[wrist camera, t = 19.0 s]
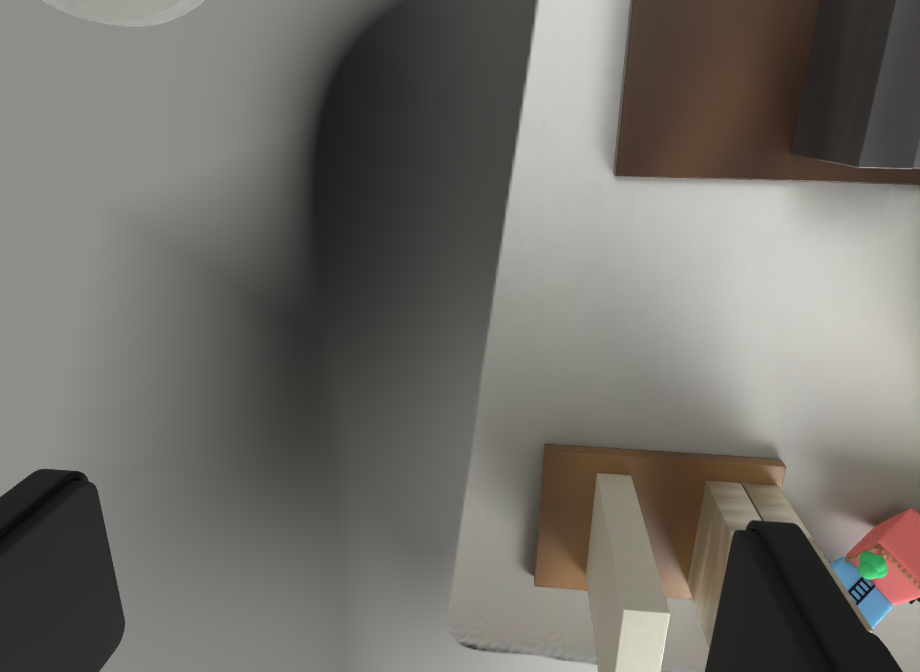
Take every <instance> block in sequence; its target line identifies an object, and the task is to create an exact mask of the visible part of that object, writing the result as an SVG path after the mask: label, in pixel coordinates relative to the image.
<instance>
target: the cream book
mask: <svg viewBox="0 0 920 672" xmlns="http://www.w3.org/2000/svg"><path fill="white" fill-rule="evenodd" d="M586 580H587V587H588V595H589V603H590V611H591V619H592V626H593V634H594V642H595V650H596V658H597V665H598V672H660V670H661V664H662V658H663V652H664V646H665V640H666V634H667V628H668V623H669V617H670V611H669V608H668V604H667V601H666V597H665V594H664V590H663V586H662V583H661V579H660V576H659V572H658V569H657V565H656V562H655V558H654V555H653V551H652V548H651V544H650V541H649V537H648V534H647V530H646V526H645V523H644V519H643V516H642V512H641V509H640V505H639V502H638V498H637V495H636V491H635V488H634V484H633V481H632V477H631V475H620V474H605V473H597V477H596V486H595V495H594V505H593V514H592V523H591V532H590V541H589V551H588V560H587V569H586Z"/></svg>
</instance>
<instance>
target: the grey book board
mask: <svg viewBox="0 0 920 672" xmlns="http://www.w3.org/2000/svg"><path fill="white" fill-rule="evenodd" d="M613 174H614V175H615V176H633V177H667V178H701V179H736V180H770V181H805V182H839V183H873V184H908V185H920V0H630V10H629V20H628V30H627V40H626V50H625V60H624V70H623V80H622V90H621V100H620V110H619V120H618V130H617V140H616V150H615V160H614V170H613Z"/></svg>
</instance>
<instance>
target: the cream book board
mask: <svg viewBox="0 0 920 672" xmlns="http://www.w3.org/2000/svg"><path fill="white" fill-rule="evenodd" d="M785 469H786V466H785V464H784V463H783V461H782V460H781V459H769V458H754V457H738V456H722V455H707V454H691V453H676V452H660V451H645V450H629V449H614V448H598V447H583V446H567V445H551V444H544V449H543V462H542V476H541V490H540V503H539V517H538V531H537V544H536V558H535V572H534V586H537V587H550V588H562V589H574V590H586V591H588V587H587V580H586V569H587V560H588V551H589V541H590V532H591V523H592V514H593V505H594V495H595V486H596V477H597V473H605V474H620V475H631V477H632V481H633V484H634V488H635V491H636V495H637V498H638V502H639V505H640V509H641V512H642V516H643V519H644V523H645V526H646V530H647V534H648V537H649V541H650V544H651V548H652V551H653V555H654V558H655V562H656V565H657V569H658V572H659V576H660V579H661V583H662V586H663V590H664V594H665V597H670V598H682V599H693V601H694V604H695V607H696V610H697V613H698V616H699V619H700V622H701V625H702V628H703V631H704V634H705V637H706V640H707V643H708V646H709V648H710V645H711V640H712V635H713V630H714V625H715V620H716V615H717V610H718V605H719V600H720V595H721V590H722V585H723V580H724V575H725V570H726V565H727V560H728V556H729V551H730V546H731V541H732V537H733V534H734V532H735V531H736V530H746V527H747V525H748V523H749V522H750V521H752V520H760V521H773V522H787V523H795V524H797V525H798V526H799V527H800V528H801V529H802V531H803V532H804V534H805V535H806V537H807V539H808V540H809V542H810V543H811V545H812V546H813V548H814V549H815V551H816V552H817V554H818V556H819V557H820V559H821V560H822V562H823V563H824V565H825V566H826V568H827V569H828V571H829V573H830V574H831V576H832V577H833V579H834V580H835V582H836V583H837V585H838V587H839V588H840V590H841V591H842V593H843V594H844V596H845V597H846V599H847V600H848V602H849V604H850V605H851V607H852V608H853V610H854V611H855V613H856V614H857V616H858V617H859V619H860V621H861V622H862V624H863V625H864V627H865V628H866V630H867V631H869V632H871V633H873V629H872V628H871V626H870V625H869V623H868V622H867V620H866V618H865V617H864V615H863V614H862V612H861V611H860V609H859V608H858V606H857V605H856V603H855V602H854V600H853V599H852V597H851V596H850V594H849V593H848V591H847V590H846V588H845V587H844V585H843V584H842V582H841V581H840V579H839V578H838V576H837V574H836V573H835V571H834V570H833V568H832V567H831V565H830V564H829V562H828V561H827V559H826V558H825V556H824V555H823V553H822V552H821V550H820V549H819V547H818V546H817V544H816V543H815V541H814V540H813V538H812V537H811V535H810V533H809V532H808V530H807V529H806V527H805V526H804V524H803V523H802V521H801V520H800V518H799V517H798V515H797V514H796V512H795V511H794V509H793V508H792V506H791V505H790V503H789V502H788V500H787V499H786V497H785V496H784V494H783V493H782V491H781V487H782V483H783V478H784V474H785Z"/></svg>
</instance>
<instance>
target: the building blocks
mask: <svg viewBox="0 0 920 672" xmlns="http://www.w3.org/2000/svg"><path fill="white" fill-rule="evenodd" d="M846 557H847V558H846ZM846 557H842V558H840V559H837V560H835V561H833V562H831V563H829V564H830V565H831V567H832V568H833V570H834V571H835V573H836V574H837V576H838V578H839V579H840V581H841V582H842V584H843V585H844V587H845V588H846V590H847V591H848V593H849V594H850V596H851V597H852V599H853V600H854V602H855V603H856V605H857V606H858V608H859V609H860V611H861V612H862V614H863V615H864V617H865V618H866V620H867V622H868V623H869V625H870V626H871V628H872V629H873V628H874V627H875V625H876V624H877V623H878V622H879V621H880V620H881V619H882V618H883V617H884V616H885V615H886V614H887V613H888V611H889V610H890V609H891V608H892V604H894V605H898V604H901V603H905V602H908V601H910V602H909V603H910V604H912V603H913V602H914V601H915V600H917V599H918V600H917V601H919V602H920V514H919V513H917V512H916V511H915V510H914V509H908V510H906V511H904V512H902V513H900V514H898V515H896V516H894V517H892V518H890V519H888V520H886V521H884V522H882V523H880V524H878V525H877V526H875V527H874V528H873V529H872V530H871V531H870V532H869V533H868V534H867V535H866V536H865V537H864V538H863V539H862V540H861V541H860V542H859V543H858V544H857V545H856V546H855V547H854V548H853V549H852V550H851V551H850V552H849V553H848V554H847V555H846ZM891 603H892V604H891Z"/></svg>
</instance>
